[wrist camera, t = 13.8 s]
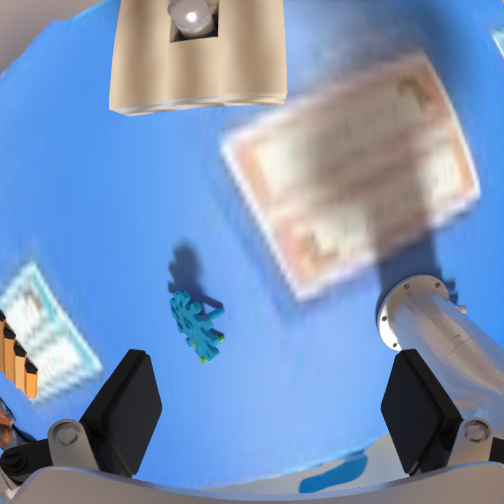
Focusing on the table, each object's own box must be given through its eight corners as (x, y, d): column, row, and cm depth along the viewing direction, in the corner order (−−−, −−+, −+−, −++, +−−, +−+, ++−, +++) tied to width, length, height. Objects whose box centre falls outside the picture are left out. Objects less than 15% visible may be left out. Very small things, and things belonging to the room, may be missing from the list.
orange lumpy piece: (38, 461, 60) (59, 454, 59) (17, 478, 47) (36, 474, 46) (-3, 401, 62) (14, 387, 61) (-27, 412, 48) (-14, 400, 48)
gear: (159, 283, 38) (200, 312, 31) (195, 267, 42) (242, 290, 35) (178, 347, 43) (218, 381, 36) (209, 329, 46) (251, 358, 39)
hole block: (278, -17, 28) (279, -40, 22) (284, 104, 33) (287, 92, 27) (141, -1, 29) (125, -19, 23) (130, 116, 34) (109, 109, 28)
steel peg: (220, 26, 30) (206, -12, 21) (219, 51, 31) (204, 16, 22) (190, 30, 31) (168, -6, 21) (189, 54, 32) (165, 22, 22)
